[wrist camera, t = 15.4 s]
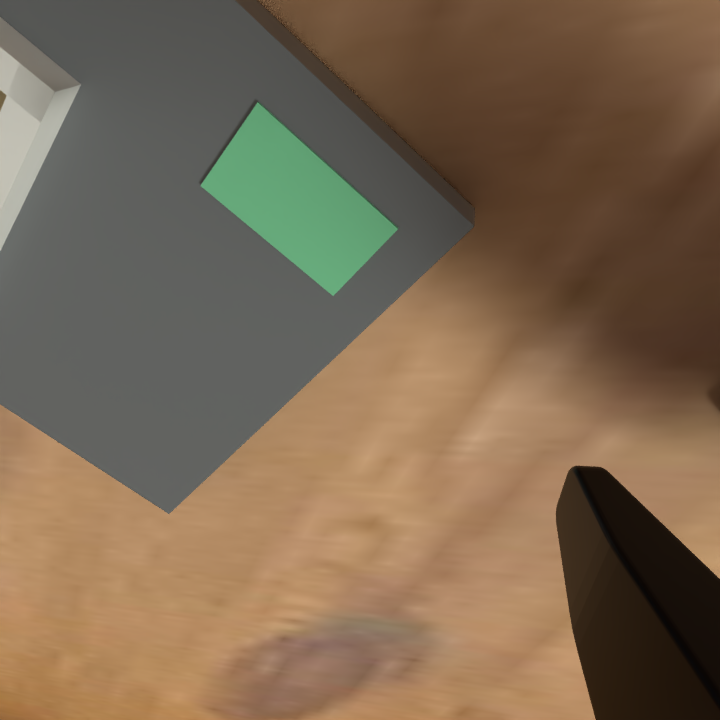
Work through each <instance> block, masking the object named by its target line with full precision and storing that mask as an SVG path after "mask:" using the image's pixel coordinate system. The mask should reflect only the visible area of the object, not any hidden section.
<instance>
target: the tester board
mask: <svg viewBox="0 0 720 720" xmlns="http://www.w3.org/2000/svg"><path fill="white" fill-rule="evenodd" d="M474 218H475V208H474V207H473V206H472V205H471V204H470V203H468V202H467V201H466V200H465V199H464V198H463V197H462V196H461V195H460V194H459V193H458V192H457V191H456V190H455V189H454V188H453V187H452V186H451V185H450V184H449V183H448V182H446V181H445V180H444V179H443V178H442V177H441V176H440V175H439V174H438V173H437V172H436V171H435V170H434V169H433V168H432V167H431V166H430V165H429V164H428V163H427V162H426V161H425V160H423V159H422V158H421V157H420V156H419V155H418V154H417V153H416V152H415V151H414V150H413V149H412V148H411V147H410V146H409V145H408V144H407V143H406V142H405V141H404V140H403V139H401V138H400V137H399V136H398V135H397V134H396V133H395V132H394V131H393V130H392V129H391V128H390V127H389V126H388V125H387V124H386V123H385V122H384V121H383V120H382V119H381V118H380V117H378V116H377V115H376V114H375V113H374V112H373V111H372V110H371V109H370V108H369V107H368V106H367V105H366V104H365V103H364V102H363V101H362V100H361V99H360V98H359V97H358V96H357V95H355V94H354V93H353V92H352V91H351V90H350V89H349V88H348V87H347V86H346V85H345V84H344V83H343V82H342V81H341V80H340V79H339V78H338V77H337V76H336V75H335V74H333V73H332V72H331V71H330V70H329V69H328V68H327V67H326V66H325V65H324V64H323V63H322V62H321V61H320V60H319V59H318V58H317V57H316V56H315V55H314V54H313V53H312V52H310V51H309V50H308V49H307V48H306V47H305V46H304V45H303V44H302V43H301V42H300V41H299V40H298V39H297V38H296V37H295V36H294V35H293V34H292V33H291V32H290V31H288V30H287V29H286V28H285V27H284V26H283V25H282V24H281V23H280V22H279V21H278V20H277V19H276V18H275V17H274V16H273V15H272V14H271V13H270V12H269V11H268V10H267V9H265V8H264V7H263V6H262V5H261V4H260V3H259V2H258V1H257V0H0V404H1V405H2V406H4V407H5V408H7V409H8V410H10V411H11V412H13V413H14V414H16V415H18V416H19V417H21V418H22V419H24V420H25V421H27V422H28V423H30V424H31V425H33V426H34V427H36V428H38V429H39V430H41V431H42V432H44V433H45V434H47V435H48V436H50V437H51V438H53V439H54V440H56V441H58V442H59V443H61V444H62V445H64V446H65V447H67V448H68V449H70V450H71V451H73V452H74V453H76V454H78V455H79V456H81V457H82V458H84V459H85V460H87V461H88V462H90V463H91V464H93V465H94V466H96V467H98V468H99V469H101V470H102V471H104V472H105V473H107V474H108V475H110V476H111V477H113V478H114V479H116V480H118V481H119V482H121V483H122V484H124V485H125V486H127V487H128V488H130V489H131V490H133V491H134V492H136V493H138V494H139V495H141V496H142V497H144V498H145V499H147V500H148V501H150V502H151V503H153V504H154V505H156V506H158V507H159V508H161V509H162V510H164V511H165V512H167V513H168V514H169V513H171V512H172V511H173V510H174V509H175V508H176V507H177V506H178V505H179V504H180V503H181V502H182V501H183V500H184V499H185V498H186V497H188V496H189V495H190V494H191V493H192V492H193V491H194V490H195V489H196V488H197V487H198V486H199V485H200V484H201V483H202V482H203V481H205V480H206V479H207V478H208V477H209V476H210V475H211V474H212V473H213V472H214V471H215V470H216V469H217V468H218V467H219V466H220V465H222V464H223V463H224V462H225V461H226V460H227V459H228V458H229V457H230V456H231V455H232V454H233V453H234V452H235V451H236V450H237V449H238V448H240V447H241V446H242V445H243V444H244V443H245V442H246V441H247V440H248V439H249V438H250V437H251V436H252V435H253V434H254V433H255V432H257V431H258V430H259V429H260V428H261V427H262V426H263V425H264V424H265V423H266V422H267V421H268V420H269V419H270V418H271V417H272V416H274V415H275V414H276V413H277V412H278V411H279V410H280V409H281V408H282V407H283V406H284V405H285V404H286V403H287V402H288V401H289V400H291V399H292V398H293V397H294V396H295V395H296V394H297V393H298V392H299V391H300V390H301V389H302V388H303V387H304V386H305V385H306V384H308V383H309V382H310V381H311V380H312V379H313V378H314V377H315V376H316V375H317V374H318V373H319V372H320V371H321V370H322V369H323V368H325V367H326V366H327V365H328V364H329V363H330V362H331V361H332V360H333V359H334V358H335V357H336V356H337V355H338V354H339V353H340V352H342V351H343V350H344V349H345V348H346V347H347V346H348V345H349V344H350V343H351V342H352V341H353V340H354V339H355V338H356V337H357V336H359V335H360V334H361V333H362V332H363V331H364V330H365V329H366V328H367V327H368V326H369V325H370V324H371V323H372V322H373V321H374V320H375V319H377V318H378V317H379V316H380V315H381V314H382V313H383V312H384V311H385V310H386V309H387V308H388V307H389V306H390V305H391V304H392V303H394V302H395V301H396V300H397V299H398V298H399V297H400V296H401V295H402V294H403V293H404V292H405V291H406V290H407V289H408V288H409V287H411V286H412V285H413V284H414V283H415V282H416V281H417V280H418V279H419V278H420V277H421V276H422V275H423V274H424V273H425V272H426V271H428V270H429V269H430V268H431V267H432V266H433V265H434V264H435V263H436V262H437V261H438V260H439V259H440V258H441V257H442V256H443V255H445V254H446V253H447V252H448V251H449V250H450V249H451V248H452V247H453V246H454V245H455V244H456V243H457V242H458V241H459V240H460V239H462V238H463V237H464V236H465V235H466V234H467V233H468V232H469V231H470V230H471V229H472V228H473V227H474Z"/></svg>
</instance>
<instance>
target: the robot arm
mask: <svg viewBox="0 0 720 720" xmlns="http://www.w3.org/2000/svg"><path fill="white" fill-rule="evenodd" d="M556 524H557V531H558V538H559V545H560V551H561V558H562V565H563V571H564V578H565V585H566V592H567V598H568V605H569V612H570V618H571V624H572V629H573V634H574V638H575V642H576V647H577V651H578V655H579V658H580V662H581V666H582V670H583V673H584V677H585V681H586V685H587V688H588V692H589V696H590V700H591V704H592V707H593V711H594V715H595V719H596V720H720V579H719V578H718V577H717V576H716V575H715V574H714V573H713V572H712V571H711V570H710V569H709V568H708V567H707V566H706V565H705V564H703V563H702V562H701V561H700V560H699V559H698V558H697V557H696V556H695V555H694V554H693V553H692V552H691V551H690V550H689V549H688V548H687V547H686V546H685V545H684V544H683V543H682V542H681V541H680V540H679V539H678V538H676V537H675V536H674V535H673V534H672V533H671V532H670V531H669V530H668V529H667V528H666V527H665V526H664V525H663V524H662V523H661V522H660V521H659V520H658V519H657V518H656V517H655V516H654V515H653V514H652V513H651V512H650V511H648V510H647V509H646V508H645V507H644V506H643V505H642V504H641V503H640V502H639V501H638V500H637V499H636V498H635V497H634V496H633V495H632V494H631V493H630V492H629V491H628V490H627V489H626V488H625V487H624V486H623V485H621V484H620V483H619V482H618V481H617V480H616V479H615V478H614V477H613V476H612V475H611V474H610V473H609V472H608V471H607V470H605V469H603V468H601V467H592V466H574V467H572V468H571V469H570V470H569V472H568V474H567V477H566V480H565V483H564V486H563V489H562V492H561V495H560V498H559V501H558V504H557V508H556Z"/></svg>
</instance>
